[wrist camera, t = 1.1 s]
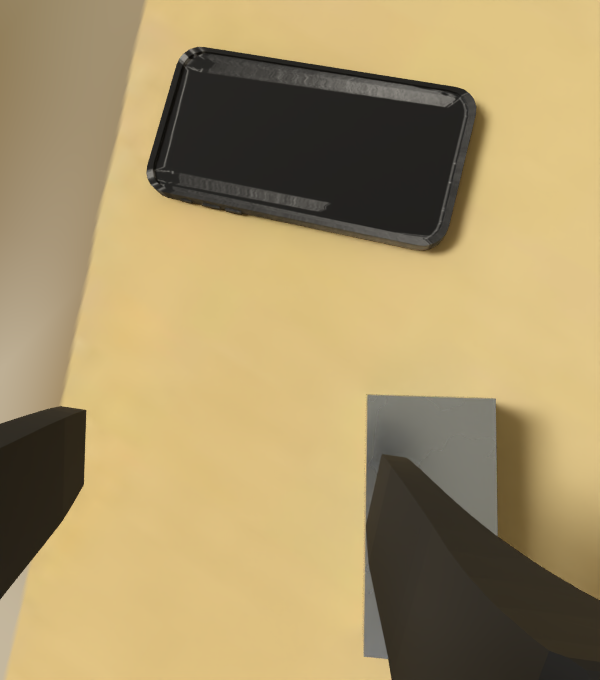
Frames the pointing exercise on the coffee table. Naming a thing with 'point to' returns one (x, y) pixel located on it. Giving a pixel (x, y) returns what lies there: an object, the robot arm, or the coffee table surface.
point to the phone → (313, 146)
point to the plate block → (430, 465)
